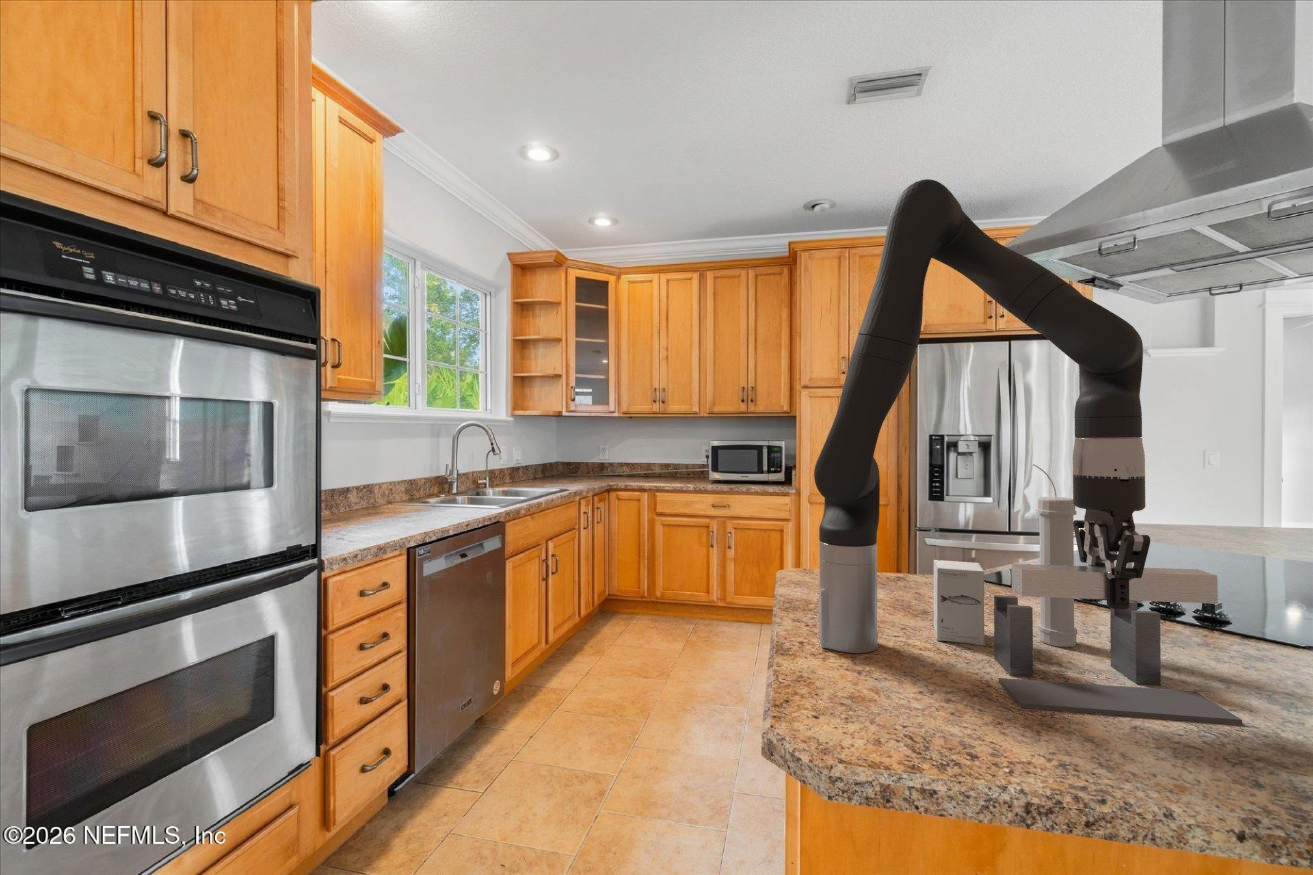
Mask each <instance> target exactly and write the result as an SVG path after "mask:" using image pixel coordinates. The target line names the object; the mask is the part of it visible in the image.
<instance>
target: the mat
mask: <svg viewBox="0 0 1313 875" xmlns="http://www.w3.org/2000/svg"><path fill="white" fill-rule="evenodd" d="M998 683H999V685H1001V686H1002V688H1003V689H1004V690H1005V691H1006V692H1007V693H1008V695H1009V696H1010V697H1011V698H1012V699H1013V700H1014V701H1015V703H1016V704H1018V706H1020V708H1021V709H1032V710H1044V711H1045V710H1046V711H1058V712H1059V711H1060V712H1069V713H1071V712H1072V713H1082V714H1083V713H1086V714H1098V715H1107V716H1109V715H1110V716H1124V717H1135V718H1149V719H1162V720H1173V721H1174V720H1176V721H1189V722H1200V723H1214V724H1227V725H1241V726H1243V719H1241V718H1240V717H1238V716H1237V715H1235V714H1233V713H1232V712H1230V711H1229V710H1227V709H1225V708H1223V707H1222V706H1220V705H1219V704H1217V703H1216V702H1214V701H1212V700H1211V699H1209V698H1208V697H1207V696H1204V695H1203V694H1201V693H1199V692H1198V691H1196V690H1186V689H1185V690H1184V689H1183V690H1181V689H1167V688H1154V687H1153V688H1152V687H1139V686H1122V685H1108V684H1093V683H1079V682H1078V683H1076V682H1066V681H1065V682H1062V681H1051V680H1050V681H1049V680H1038V679H1037V680H1033V679H1018V678H1007V677H1006V678H1004V677H998Z"/></svg>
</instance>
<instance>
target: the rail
mask: <svg viewBox="0 0 1313 875" xmlns="http://www.w3.org/2000/svg"><path fill="white" fill-rule="evenodd" d="M1132 568H1133V566H1132ZM1107 579H1108V577H1107V573H1106V567H1102V566H1086V565H1074V566H1067V565H1040V564H1028V563H1027V564H1025V563H1024V564H1023V563H1011V590H1012V591H1014V592H1015V593H1017V594H1018V595H1020V596H1022V597H1036V598H1038V597H1039V598H1040V597H1058V598H1074V599H1084V600H1085V599H1086V600H1095V599H1107ZM1218 589H1219V588H1218V575H1217V574H1214V573H1211V572H1207V571H1204V570H1202V569H1198V568H1167V567H1166V568H1165V567H1164V568H1161V567H1144V570H1143V574H1142V577H1141V578H1133V579H1132V580H1129V601H1134V602H1136V601H1139V602H1160V603H1161V602H1162V603H1163V602H1164V603H1166V602H1168V603H1187V604H1188V603H1190V604H1191V603H1192V604H1193V603H1194V604H1214V605H1215V604H1216V605H1218V603H1219V601H1218V600H1219V598H1218V595H1219V593H1218V592H1219V591H1218Z"/></svg>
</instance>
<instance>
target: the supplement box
mask: <svg viewBox="0 0 1313 875" xmlns="http://www.w3.org/2000/svg"><path fill="white" fill-rule="evenodd" d="M980 564H981V563H979V562H971V561H970V562H969V561H957V560H954V561H953V560H943V559H942V560H940V559H933V629H934V635H935V638H936V641H937V642H939V641H942V642H943V641H945V642H953V643H961V644H962V643H963V644H969V645H976V646H981V647H982V646H985V570H984V569H983V567H982V566H981V565H980Z"/></svg>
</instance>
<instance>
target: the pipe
mask: <svg viewBox="0 0 1313 875" xmlns="http://www.w3.org/2000/svg"><path fill="white" fill-rule="evenodd" d="M1032 466H1034V467H1035V468H1037V469H1039V470H1040V471H1041V472H1043V473H1044V474H1045V475H1046V477H1047V478H1048V479H1049V481H1050V484H1051V485H1052V487H1053V492H1054V496H1040V497H1038V498H1037V508H1036V513H1037V514H1039V565H1067V566H1075V562H1074V561H1075V559H1074V558H1075V557H1074V555H1075V552H1074V551H1075V550H1074V548H1075V547H1074V546H1075V543H1074V540H1075V539H1074V537H1075V531H1074V526H1073V522H1074V516H1076V515H1077V510H1076V506H1075V505H1074V504H1073V497H1072V498H1071V497H1062V496H1058V495H1057V491H1056V487H1055V485H1054V481H1053V480H1052V479H1051V477H1050V476H1049V474H1048V473H1047V472H1046V471H1044V469H1042V468H1041V467H1039V466H1038V465H1037V464H1034V463H1033V464H1032ZM1039 602H1040V603H1039V612H1040V613H1039V617H1040V618H1039V620H1040V621H1039V622H1038V623H1037V625H1036V626H1037V627H1036V628H1037V629H1038V633H1037V634H1038V639H1039V641H1040V642H1041V643H1044V644H1046V645H1050V646H1053V647H1057V648H1058V647H1059V648H1072V647H1075V646H1076V645H1077V634H1078V629H1077V628H1076V627H1075V598H1058V597H1039Z"/></svg>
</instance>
